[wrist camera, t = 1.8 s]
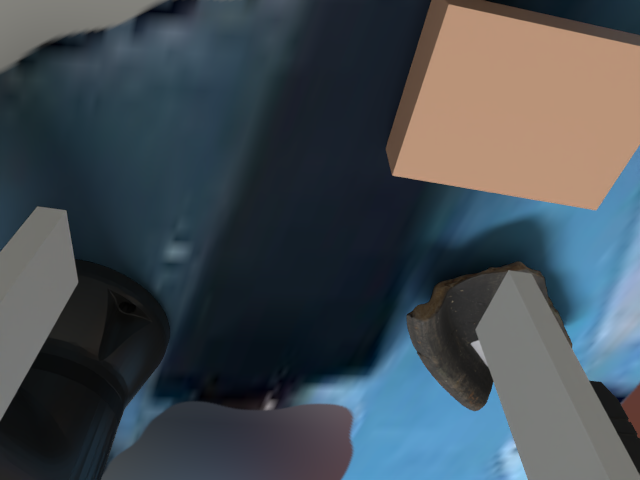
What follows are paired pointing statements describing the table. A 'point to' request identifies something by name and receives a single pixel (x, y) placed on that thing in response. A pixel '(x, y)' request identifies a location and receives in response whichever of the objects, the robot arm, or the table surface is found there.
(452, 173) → the tile
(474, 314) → the pottery fragment
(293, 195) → the table surface
